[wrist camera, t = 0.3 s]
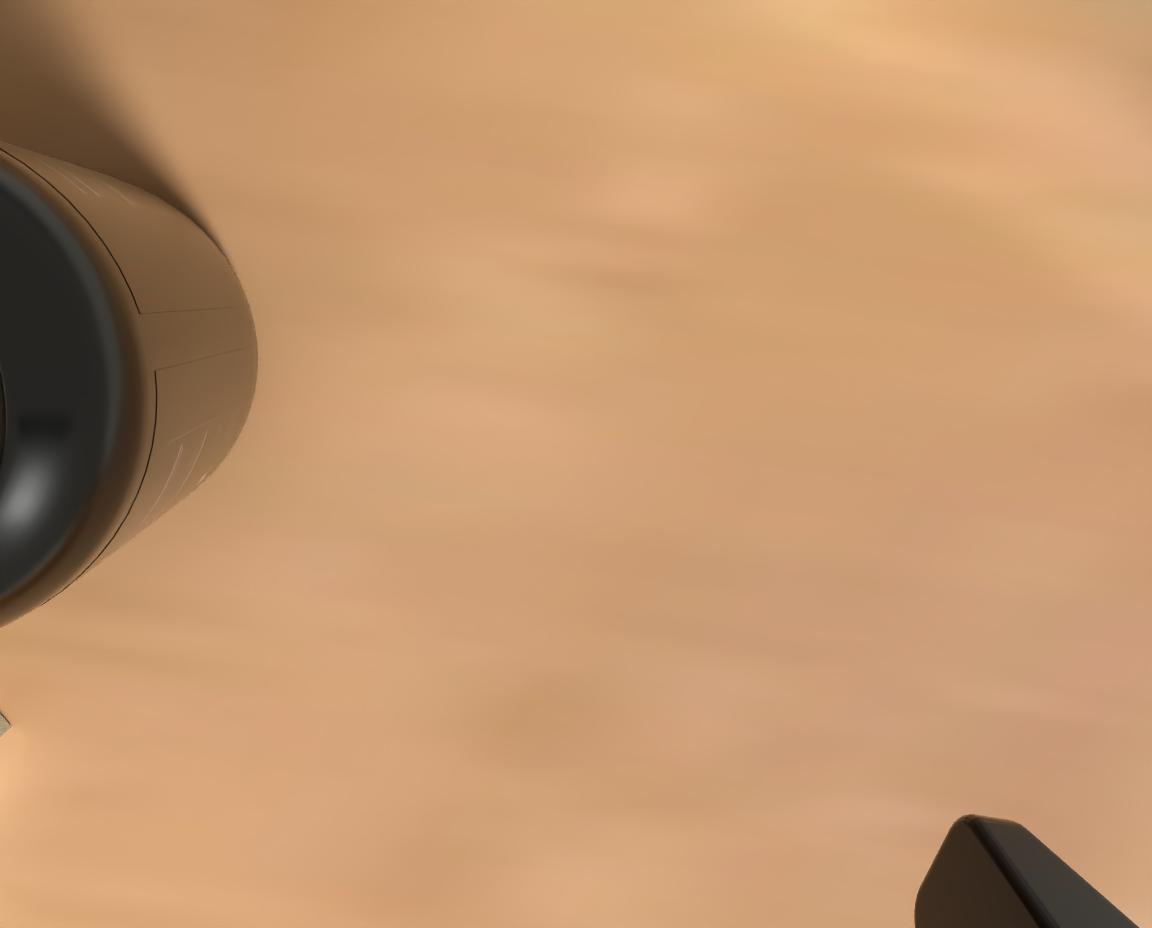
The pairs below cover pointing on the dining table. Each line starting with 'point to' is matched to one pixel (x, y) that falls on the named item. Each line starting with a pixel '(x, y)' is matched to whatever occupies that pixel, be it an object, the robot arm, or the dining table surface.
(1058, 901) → the robot arm
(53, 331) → the supplement bottle
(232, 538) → the dining table surface
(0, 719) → the board
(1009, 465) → the dining table surface
